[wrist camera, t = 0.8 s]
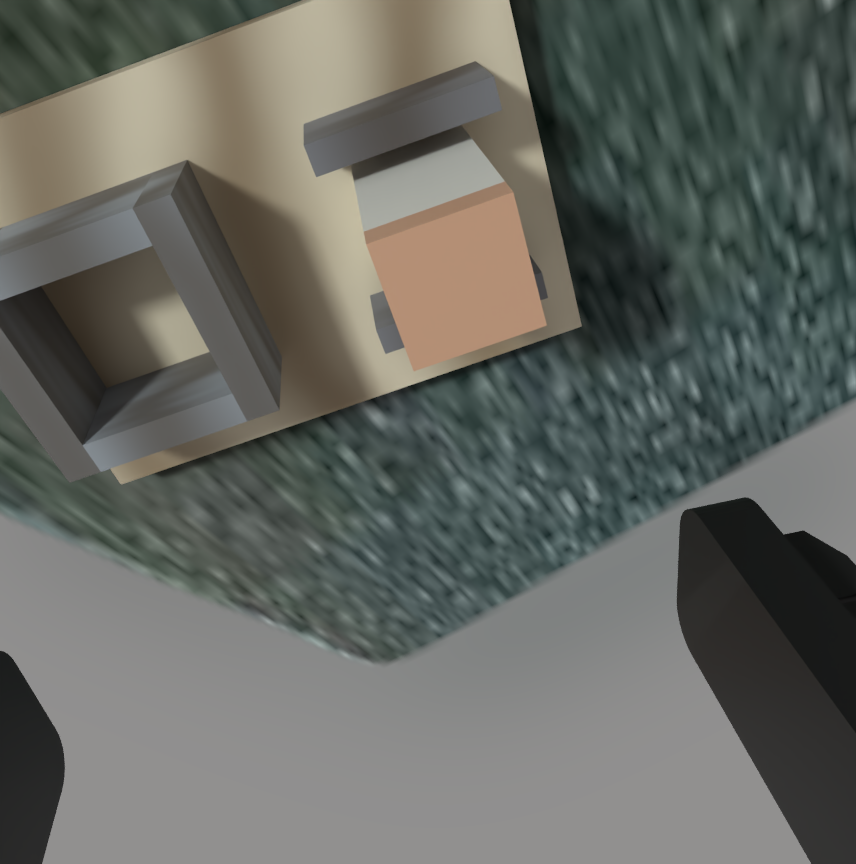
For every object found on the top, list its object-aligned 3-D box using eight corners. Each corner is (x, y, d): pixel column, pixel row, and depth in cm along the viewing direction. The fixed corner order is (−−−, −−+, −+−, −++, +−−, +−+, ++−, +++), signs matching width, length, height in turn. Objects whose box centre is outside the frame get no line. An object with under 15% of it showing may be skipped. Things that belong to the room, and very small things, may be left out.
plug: (461, 124, 27) (513, 192, 20) (490, 232, 29) (547, 325, 22) (350, 164, 27) (366, 244, 20) (388, 269, 29) (413, 371, 23)
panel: (484, -69, 25) (524, -66, 21) (571, 311, 33) (614, 373, 28) (-86, 145, 26) (-167, 193, 22) (127, 463, 34) (100, 548, 30)
